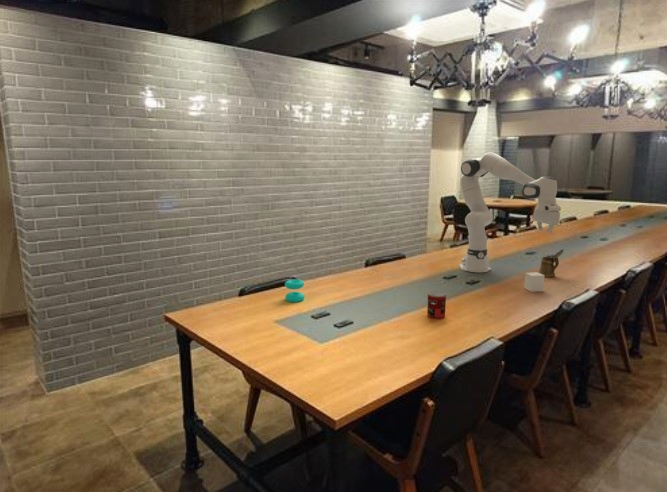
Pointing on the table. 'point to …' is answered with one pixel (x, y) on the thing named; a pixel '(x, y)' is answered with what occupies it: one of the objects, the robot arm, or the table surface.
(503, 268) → the table surface
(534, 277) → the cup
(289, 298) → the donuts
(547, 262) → the wooden mug
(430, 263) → the table surface
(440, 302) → the canned food
